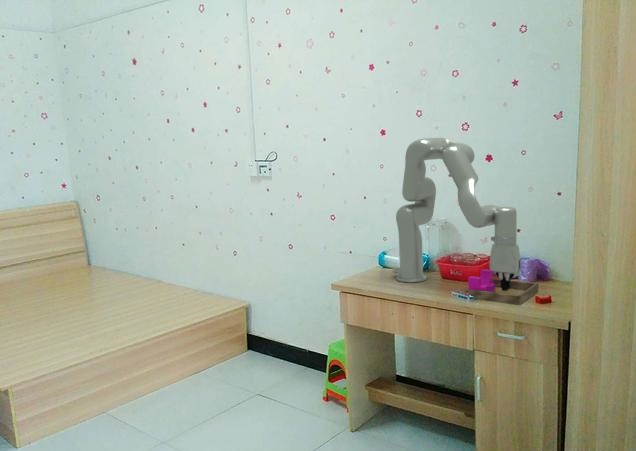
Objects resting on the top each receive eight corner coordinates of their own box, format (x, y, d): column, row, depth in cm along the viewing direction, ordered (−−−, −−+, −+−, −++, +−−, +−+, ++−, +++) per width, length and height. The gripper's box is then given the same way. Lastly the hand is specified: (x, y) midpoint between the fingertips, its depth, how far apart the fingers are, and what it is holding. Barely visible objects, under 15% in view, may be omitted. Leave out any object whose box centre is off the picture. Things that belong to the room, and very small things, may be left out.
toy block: (485, 299, 201) (485, 279, 200) (468, 297, 205) (468, 277, 204) (499, 289, 213) (498, 270, 212) (482, 288, 217) (482, 269, 216)
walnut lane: (469, 297, 204) (469, 289, 203) (490, 285, 219) (490, 278, 219) (520, 305, 192) (520, 296, 192) (538, 291, 207) (538, 283, 207)
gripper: (481, 241, 204) (481, 290, 207) (522, 244, 195) (522, 295, 197) (489, 238, 210) (489, 285, 212) (529, 240, 201) (529, 290, 203)
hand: (505, 290), depth 205 cm, fingers closed
